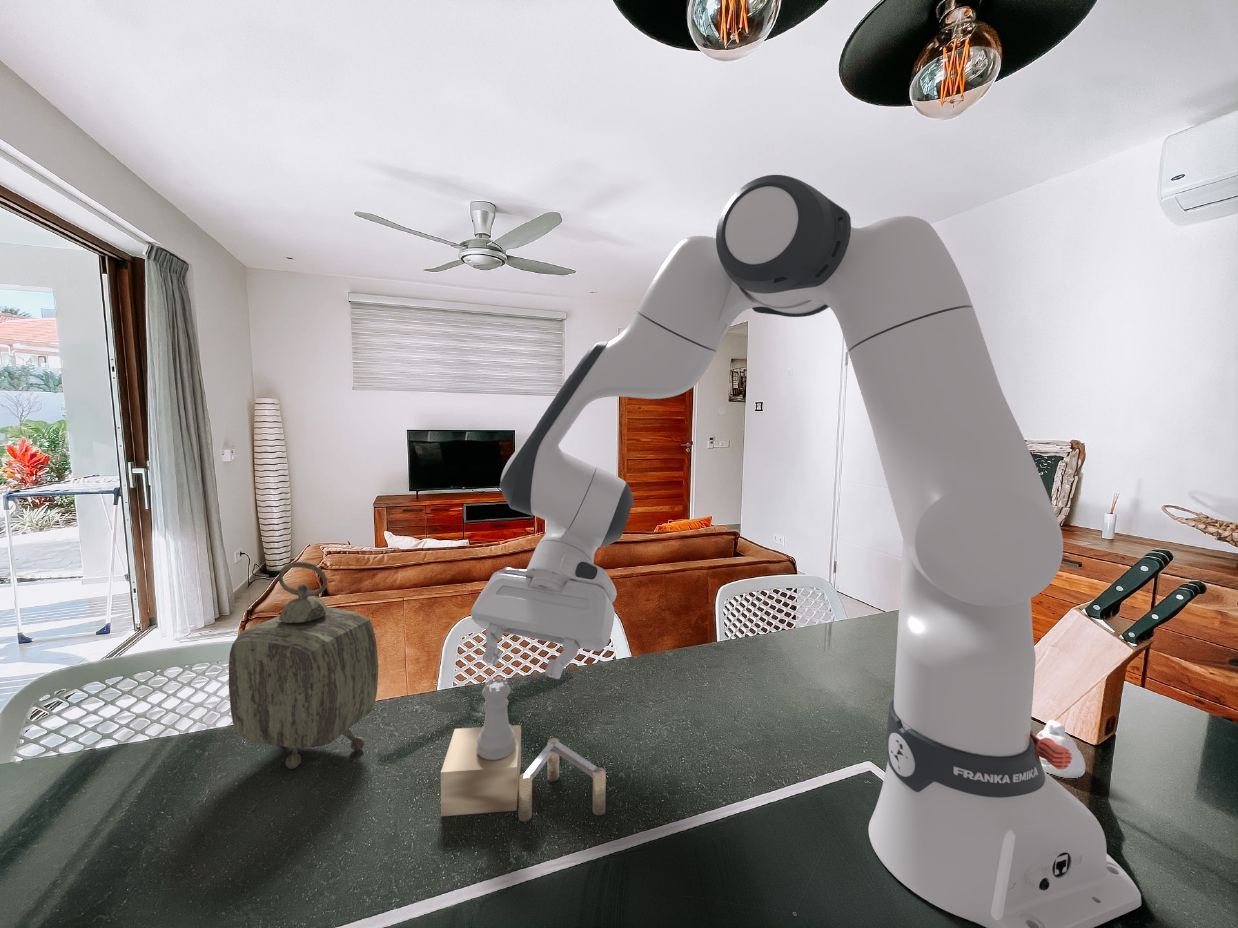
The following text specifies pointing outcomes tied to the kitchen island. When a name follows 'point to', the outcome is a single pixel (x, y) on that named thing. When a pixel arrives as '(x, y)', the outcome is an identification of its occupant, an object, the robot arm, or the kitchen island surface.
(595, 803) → the railing
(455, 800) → the pedestal
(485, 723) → the rook chess piece
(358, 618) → the tabletop clock
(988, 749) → the robot arm
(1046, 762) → the garlic bulb
